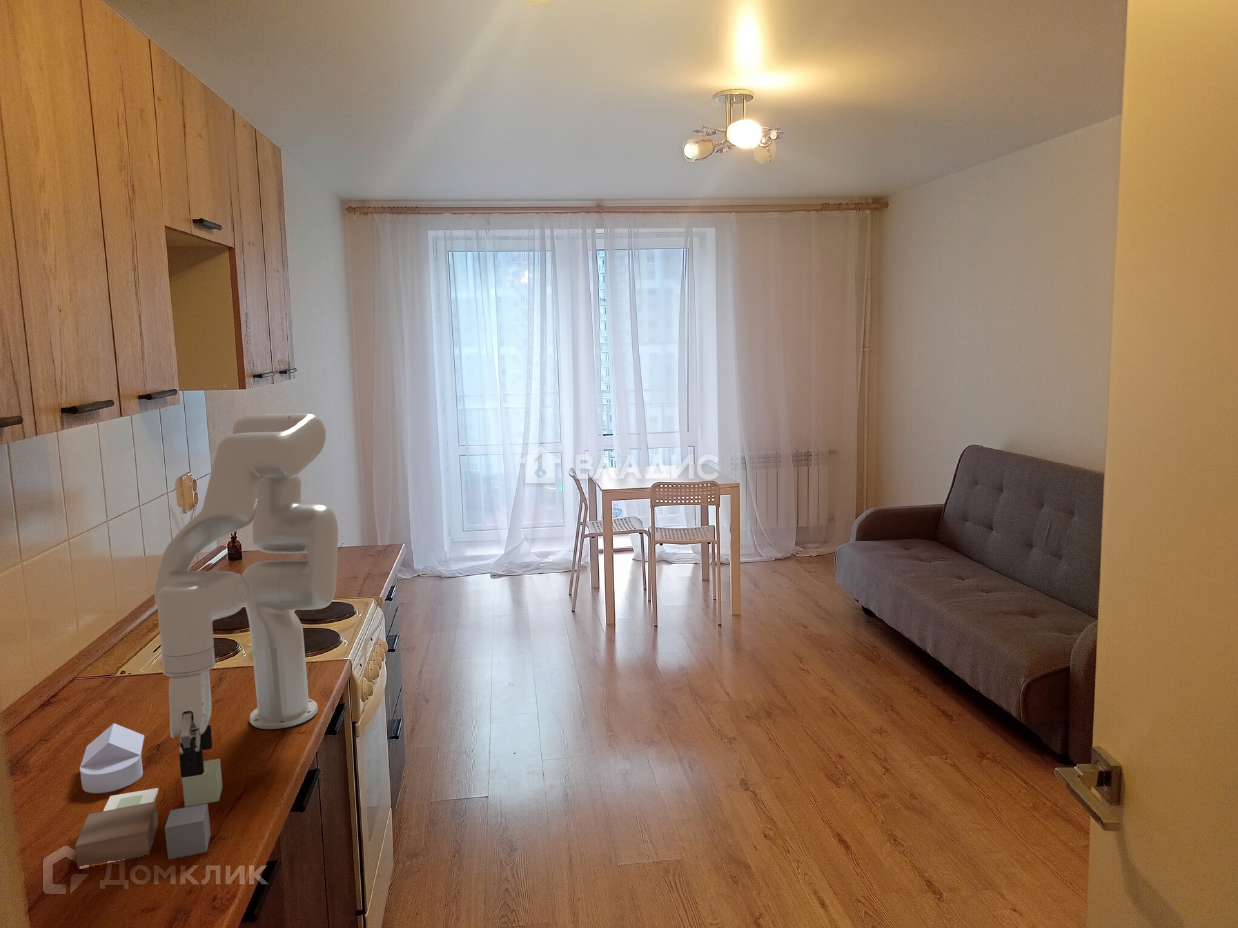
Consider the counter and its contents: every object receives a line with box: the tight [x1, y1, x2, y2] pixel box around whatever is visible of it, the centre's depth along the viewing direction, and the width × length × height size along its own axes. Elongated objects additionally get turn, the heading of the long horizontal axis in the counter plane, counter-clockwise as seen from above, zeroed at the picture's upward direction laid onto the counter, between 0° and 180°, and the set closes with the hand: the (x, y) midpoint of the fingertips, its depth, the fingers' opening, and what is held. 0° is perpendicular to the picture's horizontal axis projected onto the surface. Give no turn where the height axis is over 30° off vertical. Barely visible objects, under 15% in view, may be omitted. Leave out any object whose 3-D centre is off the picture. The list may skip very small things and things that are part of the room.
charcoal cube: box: [164, 803, 212, 860], centre depth 126 cm, size 5×5×5 cm
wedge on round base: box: [79, 723, 145, 794], centre depth 148 cm, size 9×7×13 cm
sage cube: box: [181, 758, 223, 808], centre depth 140 cm, size 5×5×5 cm
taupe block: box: [74, 800, 159, 868], centre depth 127 cm, size 9×9×4 cm
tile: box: [103, 787, 159, 811], centre depth 138 cm, size 7×7×1 cm
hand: (197, 761), depth 139 cm, fingers open, 9 cm apart
